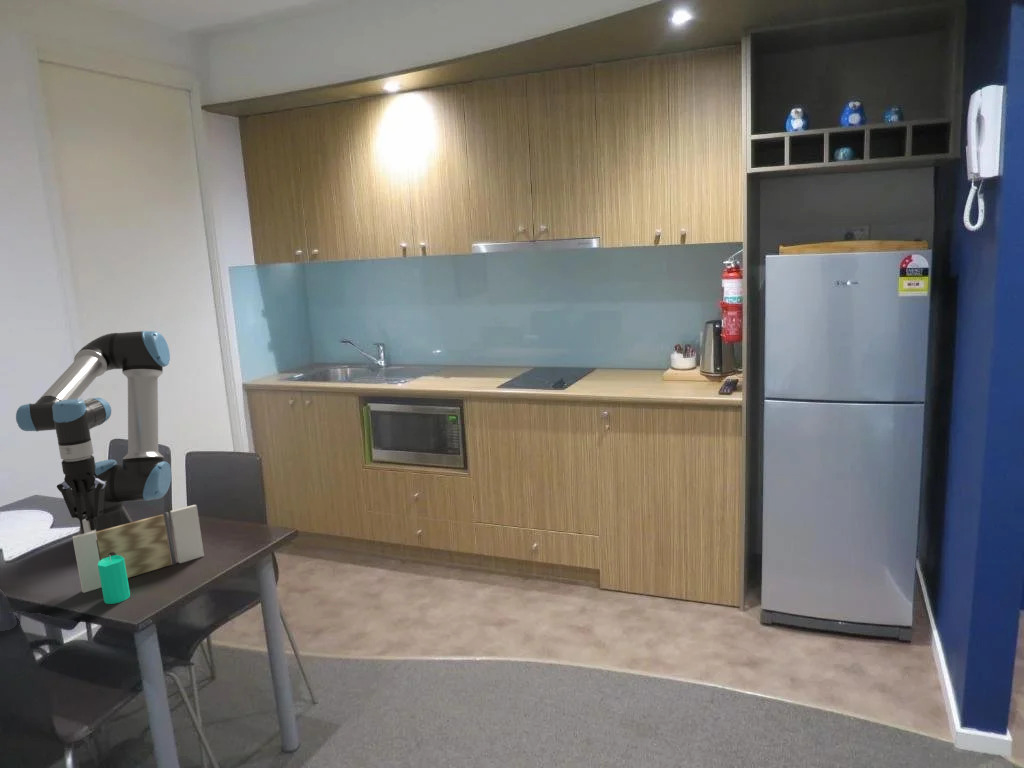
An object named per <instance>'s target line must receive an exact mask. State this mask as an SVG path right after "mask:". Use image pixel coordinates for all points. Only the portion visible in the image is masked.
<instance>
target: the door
mask: <svg viewBox="0 0 1024 768" xmlns="http://www.w3.org/2000/svg"><path fill="white" fill-rule="evenodd" d="M96 536H97V542H98V543H97V547H98V553H99V559H100V560H102V559H103V558H107V557H110V556H114V555H119V556H122V557H123V558H124V561H125V567H126V572H127V578H128V579H129V578H132V577H135V576H139V575H142V574H145V573H149V572H151V571H152V572H153V571H155V570H159V569H162V568H165V567H168V566H171V565H172V558H171V552H170V546H169V539H168V533H167V526H166V520H165V514H164V513H163V514H159V515H154V516H151V517H150V516H149V517H145V518H142V519H139V520H134V521H132V522H131V523H127V524H123V525H119V526H116V527H112V528H108V529H104V530H100V531H97V532H96Z"/></svg>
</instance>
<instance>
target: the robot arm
mask: <svg viewBox="0 0 1024 768" xmlns="http://www.w3.org/2000/svg"><path fill="white" fill-rule="evenodd" d="M170 355H171V354H170V348H169V346H168V343H167V340H166V339H165V337H164V336H163V334H161V333H160V332H159V331H155V330H151V331H149V330H143V331H141V330H140V331H130V332H129V331H128V332H111V333H106V334H103V335H101V336H99V337H97V338H95V339H93V340H91V341H90V342H89V343H87V344H85V345H84V346H83V347H81V348H80V350H78V351H77V352H76V354H74V358H73V362H72V363H71V364H70V365H69V367H67V369H66V370H65V371H64V372H63V373H62V374H61V375H60V376H59V377H58V378H57V379H56V380H55V381H54V383H53V384H52V385H50V387H49V388H48V389H46V391H45V392H44V393H43V394H42V395H41V396H40V398H39V399H38V400H36V402H35V403H28V404H27V403H26V404H22V405H20V406H19V407H18V408H17V410H16V413H15V420H16V421H15V422H16V423H17V426H18V428H19V429H21V430H22V431H23V432H24V431H25V432H44V431H55V432H56V433H55V434H56V437H57V444H58V449H59V450H58V451H59V456H60V459H61V460H62V461H61V467H62V468H61V469H62V473H63V475H65V476H64V479H63V481H62V482H61V483H58V484H57V485H56V488H57V490H58V491H59V492H60V493H61V496H62V498H63V499H64V502H65V505H66V507H67V509H68V512H69V513H70V517H71V518H72V519H75V518H76V519H78V520H79V529H78V530H79V531H78V535H80V534H84V533H88V532H91V531H94V532H95V536H96V532H97V531H100V530H104V529H108V528H112V527H116V526H119V525H123V524H127V523H131V522H133V520H132V519H131V517H130V515H129V513H128V512H127V510H126V508H125V506H124V503H126V502H128V503H129V502H139V501H140V502H141V501H143V502H144V501H146V502H147V501H151V500H159V499H161V498H163V497H164V496H165V495H166V494H167V493H168V490H169V488H170V486H171V481H172V470H171V465H170V463H168V462H167V461H164V457H165V456H164V455H162V454H161V453H160V452H159V400H158V399H159V398H158V397H159V394H158V393H159V392H158V391H159V390H158V388H159V387H158V384H159V383H158V378H159V377H160V376H161V375H162V374H163V371H164V370H163V368H165V367H167V366H168V365H169V364H170V360H171V356H170ZM111 370H121V371H122V374H123V375H124V376H125V377H126V378H127V454H126V455H125V456H124V457H123V458H122V464H119V465H118V462H117V460H115V459H105V460H101V461H97V462H96V459H95V456H93V454H94V449H93V442H92V438H91V432H90V430H92V429H93V428H95V427H98V426H100V425H103V424H104V423H105V422H107V421H108V420H109V419H110V417H111V416H112V407H111V405H110V402H108V401H107V400H106V399H104V398H101V397H92V398H87V399H86V400H83V399H81V398H80V397H81V395H83V393H84V392H85V391H86V390H87V388H88V387H89V386H90V385H92V383H93V382H94V380H95V379H96V378H99V377H100V376H102V375H104V374H105V373H106V372H107V371H111ZM96 542H97V536H96ZM97 544H98V542H97Z"/></svg>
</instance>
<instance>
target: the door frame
mask: <svg viewBox="0 0 1024 768" xmlns="http://www.w3.org/2000/svg"><path fill="white" fill-rule="evenodd" d="M169 511H170V512H167V511H166V512H164V513H163V515H164V520H165V527H166V533H167V539H168V546H169V552H170V558H171V565H173V566H174V565H176V564H177V563H179V564H183V563H186V562H189V561H193V560H195V559H200V558H203V557H205V552H204V551H205V550H204V545H203V540H202V531H201V526H200V517H199V511H198V506H197V504H192V505H187V506H183V507H180V508H176V509H173V510H169ZM169 515H170V516H169ZM170 518H171V521H170ZM171 524H172V525H171ZM171 526H172V528H171ZM172 533H173V534H172ZM71 537H72V542H73V543H72V544H73V547H74V548H73V549H74V553H75V558H76V559H75V560H76V566H77V570H78V576H79V582H80V587H81V592H82V593H87V592H88V593H89V592H91V591H94V590H97V589H100V588H101V589H102V586H101V581H100V575H99V570H98V562H99V561H100V560H101V559H100V553H99V548H98V543H97V542H96V536H95V532H94V531H91V532H88V533H84V534H80V535H79V534H77V535H73V536H71ZM173 539H174V540H173ZM174 545H175V547H174ZM175 551H176V553H175ZM176 557H177V562H176Z"/></svg>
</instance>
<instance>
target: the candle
mask: <svg viewBox="0 0 1024 768" xmlns="http://www.w3.org/2000/svg"><path fill="white" fill-rule="evenodd" d="M98 570H99V575H100V581H101V586H102V587H101V591H102V596H103V602H104V603H105V604H106V605H107V604H108V605H113V604H119V603H122V602H124V601H126V600H127V599H129V598H130V596H131V590H130V586H129V584H130V583H129V580H128V579H129V578H127V572H126V567H125V561H124V558H123V557H122V556H119V555H114V556H110V557H107V558H103V559H102V560H101V559H100V561H99V562H98Z"/></svg>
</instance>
